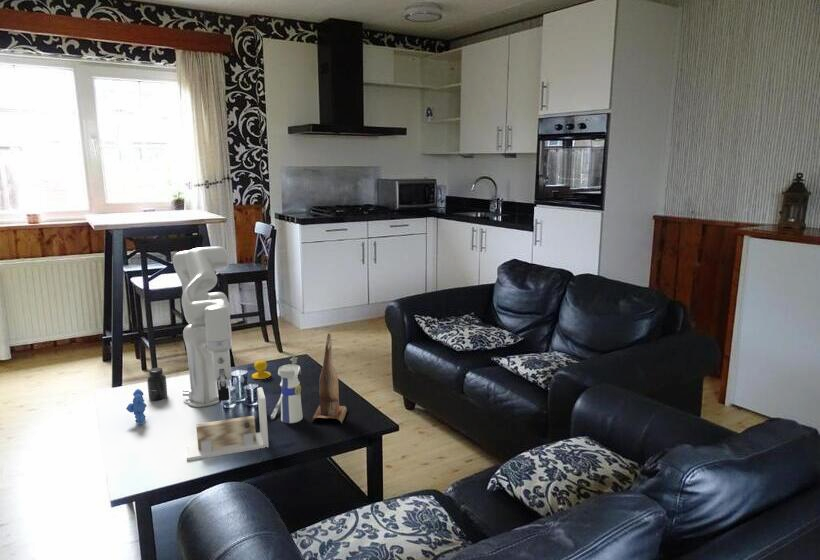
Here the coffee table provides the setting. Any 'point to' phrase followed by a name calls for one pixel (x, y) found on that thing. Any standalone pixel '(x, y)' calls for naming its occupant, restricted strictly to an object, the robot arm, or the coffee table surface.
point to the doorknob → (261, 370)
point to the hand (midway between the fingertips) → (223, 394)
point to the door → (226, 431)
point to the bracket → (276, 409)
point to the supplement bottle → (157, 385)
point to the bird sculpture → (329, 388)
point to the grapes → (138, 406)
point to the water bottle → (290, 392)
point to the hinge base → (246, 446)
